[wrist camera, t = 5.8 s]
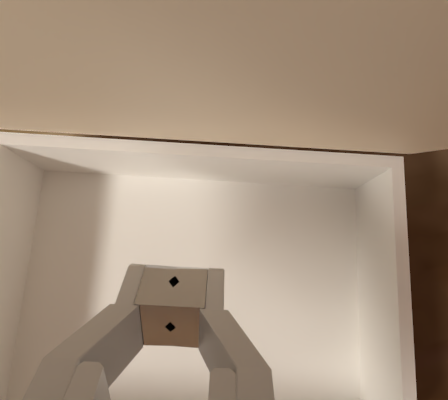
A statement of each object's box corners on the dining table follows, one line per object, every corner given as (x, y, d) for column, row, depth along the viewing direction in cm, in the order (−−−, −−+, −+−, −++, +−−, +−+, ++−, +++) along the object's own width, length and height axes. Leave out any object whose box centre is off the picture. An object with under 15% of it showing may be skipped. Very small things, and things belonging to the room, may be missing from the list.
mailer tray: (368, 471, 18) (424, 543, 14) (-9, 454, 18) (-92, 522, 13) (360, 182, 22) (403, 156, 17) (40, 163, 21) (-11, 131, 16)
